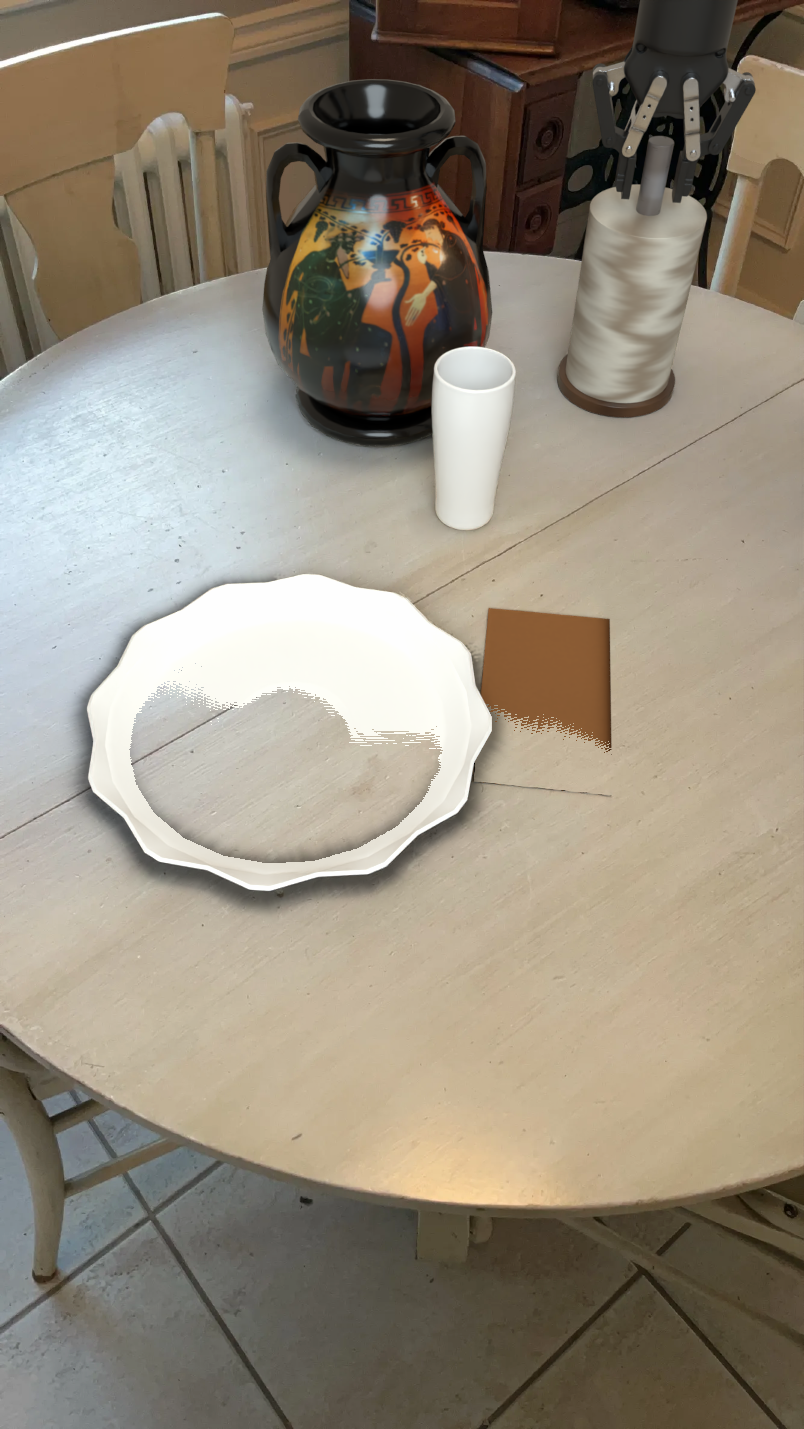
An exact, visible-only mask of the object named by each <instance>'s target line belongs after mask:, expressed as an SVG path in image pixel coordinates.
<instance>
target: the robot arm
mask: <svg viewBox="0 0 804 1429" xmlns="http://www.w3.org/2000/svg"><path fill="white" fill-rule="evenodd" d="M738 1H739V0H639V6H638V12H637V18H636V24H635V30H634V36H633V42H632V45H631V47H630V49H629V51H628V52H627V54H626V55H625V56H624V60H623V61H621V62H618V63H617V62H616V63H615V64H610V65H608V66H607V65H606V64H605V63H601V62H600V63H597V64H596V65H595V66H594V67H593V68H592V89H593V95H594V101H595V106H596V113H597V119H598V124H599V131H600V137H601V143H602V145H603V147H604V148H607V149H610V148H612V149H613V150H616V151H617V153H618V160H617V165H616V171H615V172H616V173H615V178H614V180H615V181H614V184H615V186H614V187H616V191H617V192H621V199H629V198H630V192H631V187H632V185H633V181H634V175H635V169H636V164H637V150H638V148H639V145H640V143H641V140H642V138H643V136H644V134H645V133H646V132H647V130H648V129H649V128H648V127H649V125H650V123H651V121H652V118H662V117H667V116H668V117H671V118H674V119H677V120H679V119H680V120H682V121H683V138H684V139H683V140H684V145H683V149H682V150H679V155H678V160H677V165H676V170H675V174H674V179H673V185H672V188H671V189H672V202H673V203H681V200H682V196H686V197H687V196H688V195H689V196H690V193H691V192H692V188H693V183H694V178H695V173H696V170H697V165H698V162H699V160H700V159H701V158H702V157H704V156H707V155H712V156H717V155H719V154H721V153H722V151H723V150H724V148H725V146H726V145H727V143H728V141H729V139H730V138H731V137H732V134H733V132H734V131H735V129H736V127H737V125H738V124H739V122H740V121H741V119H742V117H743V115H744V113H745V112H746V109H747V108H748V107H749V104H750V103H751V101H752V99H753V98H754V96H755V93H756V83H755V80H754V77H753V74H752V73H751V72H747V71H746V72H745V71H744V72H742V73H741V72H738V71H737V70H734V69H732V68H730V67H729V62H728V59H727V52H728V51H727V50H728V46H729V40H730V37H731V31H732V28H733V23H734V19H735V14H736V10H737V6H738ZM623 79H625V80H626V81H627V83H628V85H629V88H630V90H631V92H632V94H633V95H634V98H635V101H634V104H633V107H632V109H631V113H630V116H629V119H628V121H627V123H626V126H625V128H624V129H623V128H620V127H618V126H617V124H616V119H615V113H614V106H613V100H612V98H613V97H614V96H616V95H617V94H618V92H619V89H620V82H621V81H622V80H623ZM723 84H724V89H723V98H724V104H723V105H722V107H721V109H720V110H719V113H718V114H717V116H716V118H715V120H714V121H713V123H712V125H711V127H710V128H709V131H708V132H706V133H703V134H701V122H700V120H701V119H700V108H701V107H702V106H703V105H704V104H705V103H706V102H707V101H708V100H709V99H710V98H711V96H712V95H713V94H714V93H715V92H716V91H717V90H718V89H719V88H720V87H721V86H722V85H723Z"/></svg>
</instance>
